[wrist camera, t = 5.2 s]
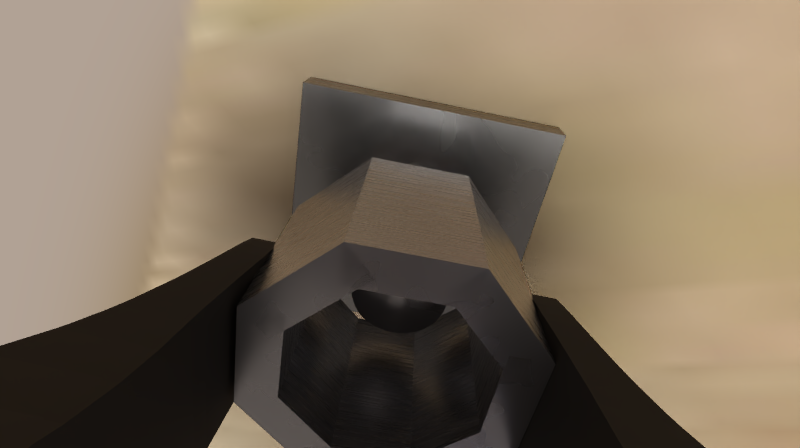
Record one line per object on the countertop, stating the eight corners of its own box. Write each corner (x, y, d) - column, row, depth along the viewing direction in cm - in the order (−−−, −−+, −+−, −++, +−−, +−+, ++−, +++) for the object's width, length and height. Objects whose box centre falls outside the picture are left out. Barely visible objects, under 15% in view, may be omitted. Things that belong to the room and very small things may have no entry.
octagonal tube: (475, 363, 13) (494, 501, 10) (286, 328, 13) (232, 457, 9) (536, 189, 11) (590, 288, 7) (303, 143, 10) (239, 221, 7)
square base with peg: (491, 323, 16) (506, 428, 12) (292, 283, 16) (244, 376, 12) (559, 127, 13) (608, 185, 9) (310, 77, 13) (254, 113, 9)
